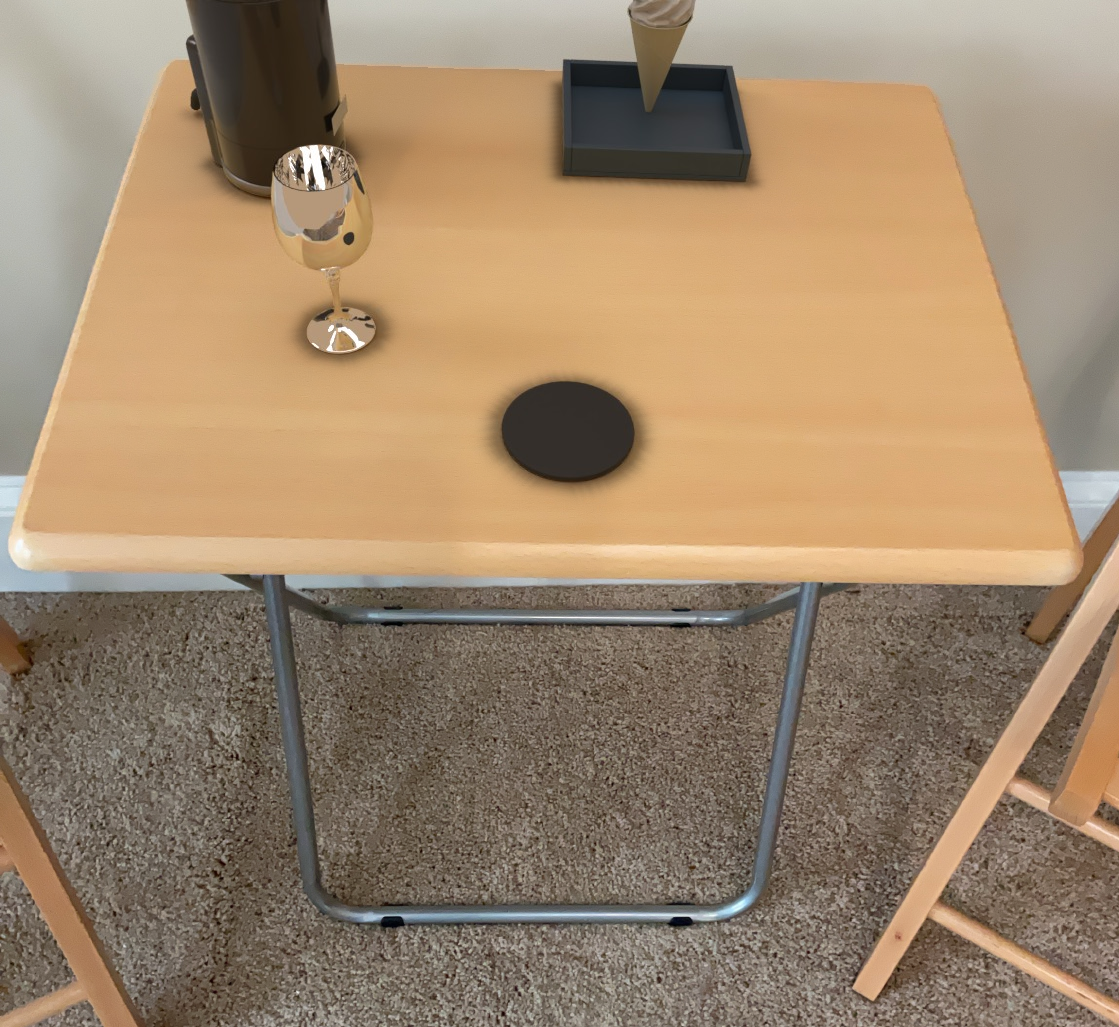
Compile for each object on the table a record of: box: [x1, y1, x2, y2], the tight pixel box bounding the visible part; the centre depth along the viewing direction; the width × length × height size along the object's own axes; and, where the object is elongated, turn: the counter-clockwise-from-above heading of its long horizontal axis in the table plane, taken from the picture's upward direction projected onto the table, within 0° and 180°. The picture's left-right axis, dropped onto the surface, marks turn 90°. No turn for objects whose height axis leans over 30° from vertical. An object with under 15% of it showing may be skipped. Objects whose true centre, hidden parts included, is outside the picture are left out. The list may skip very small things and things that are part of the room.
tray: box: [561, 58, 752, 183], centre depth 83 cm, size 14×13×2 cm
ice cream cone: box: [626, 0, 696, 113], centre depth 79 cm, size 5×5×15 cm
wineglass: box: [270, 145, 377, 355], centre depth 63 cm, size 6×6×12 cm
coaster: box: [501, 380, 635, 483], centre depth 63 cm, size 8×8×1 cm
